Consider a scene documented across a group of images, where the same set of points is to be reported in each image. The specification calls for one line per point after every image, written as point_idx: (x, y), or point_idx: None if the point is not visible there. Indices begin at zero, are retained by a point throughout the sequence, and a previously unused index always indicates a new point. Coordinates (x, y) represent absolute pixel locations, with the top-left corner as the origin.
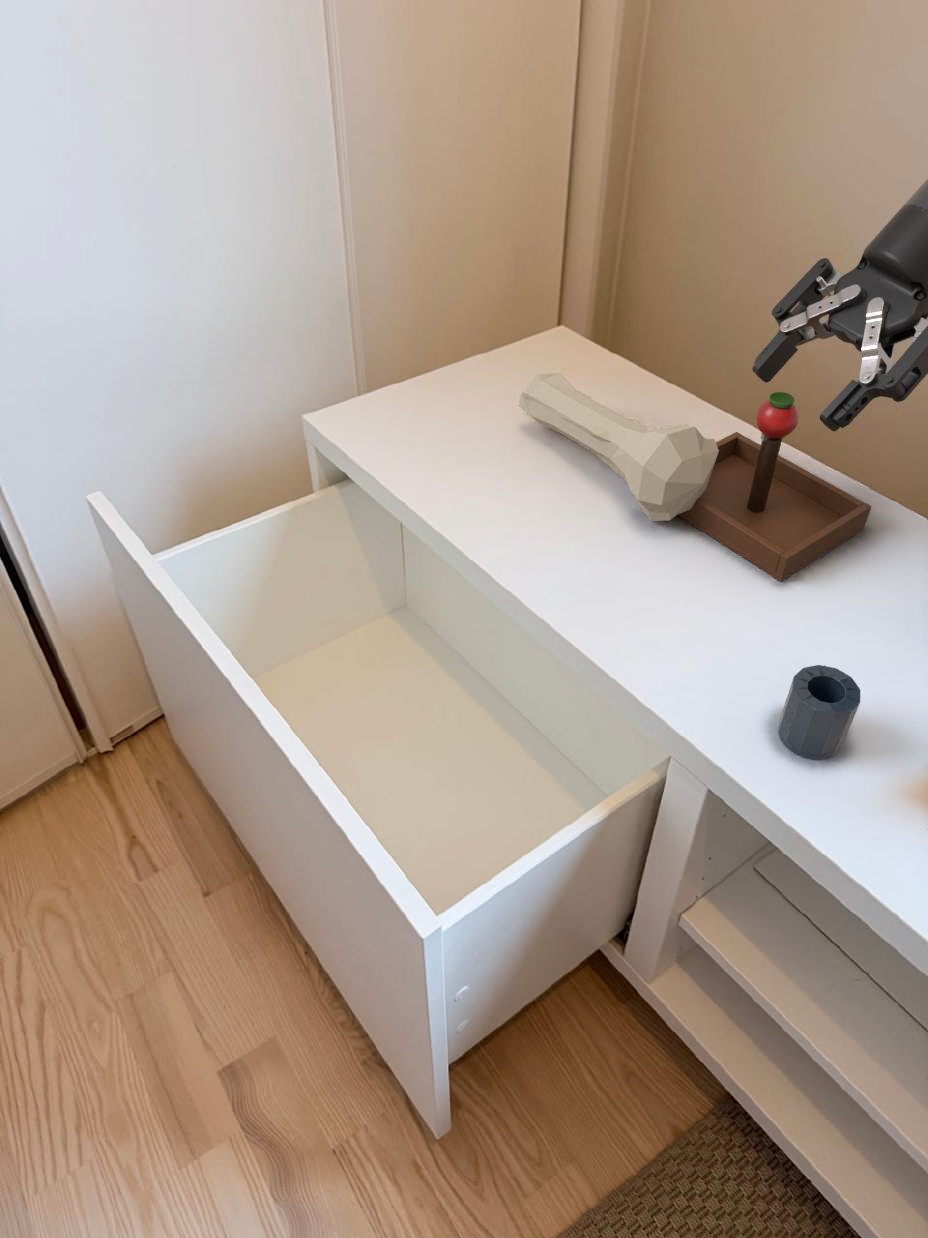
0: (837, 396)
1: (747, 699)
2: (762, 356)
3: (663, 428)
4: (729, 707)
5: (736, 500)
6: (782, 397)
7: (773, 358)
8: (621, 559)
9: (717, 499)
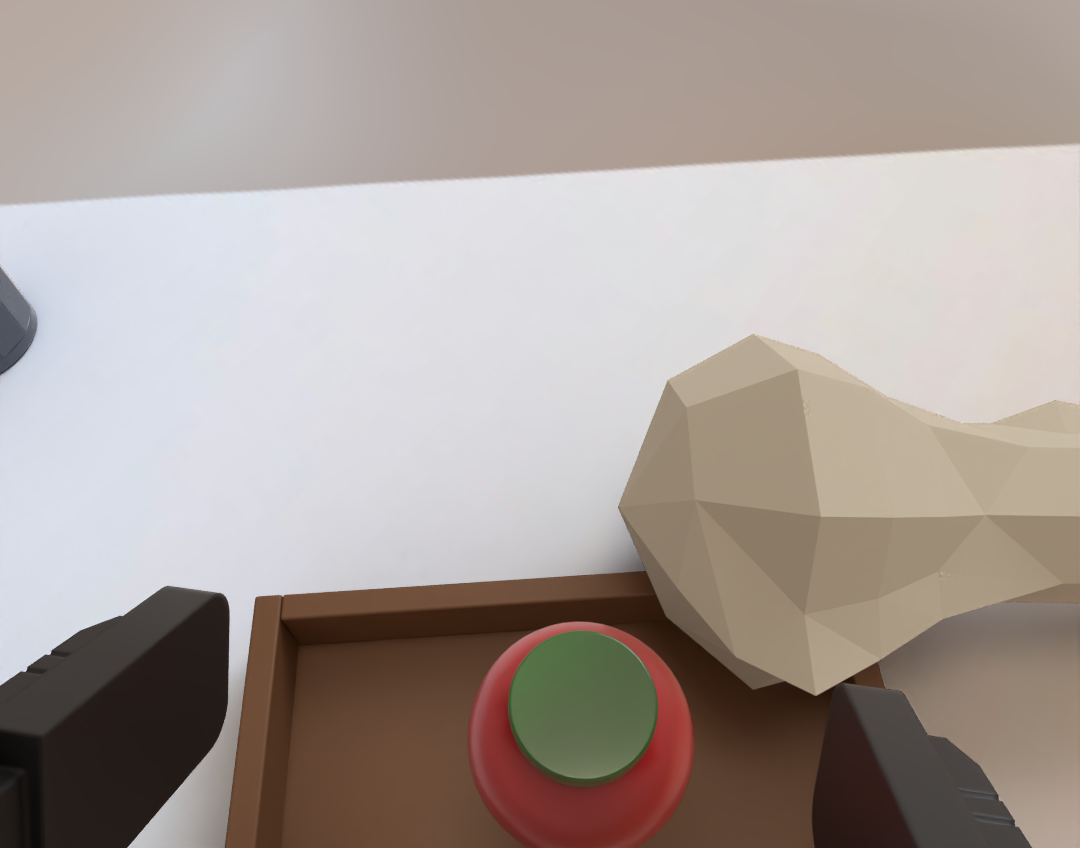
0: (139, 654)
1: (121, 313)
2: (919, 734)
3: (894, 455)
4: (138, 278)
5: None
6: (586, 709)
7: (866, 799)
8: (621, 371)
9: None
